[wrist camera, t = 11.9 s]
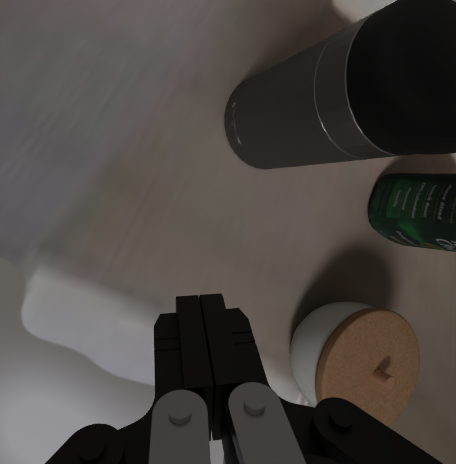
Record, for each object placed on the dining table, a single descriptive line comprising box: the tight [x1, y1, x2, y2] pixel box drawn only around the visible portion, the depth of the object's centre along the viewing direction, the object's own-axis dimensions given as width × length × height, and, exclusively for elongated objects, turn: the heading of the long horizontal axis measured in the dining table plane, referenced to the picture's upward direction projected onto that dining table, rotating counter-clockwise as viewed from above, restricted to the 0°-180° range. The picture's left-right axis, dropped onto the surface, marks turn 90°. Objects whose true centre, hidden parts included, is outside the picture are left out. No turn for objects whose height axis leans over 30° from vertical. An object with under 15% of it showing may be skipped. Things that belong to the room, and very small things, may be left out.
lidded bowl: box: [290, 302, 420, 427], centre depth 42 cm, size 13×13×11 cm
